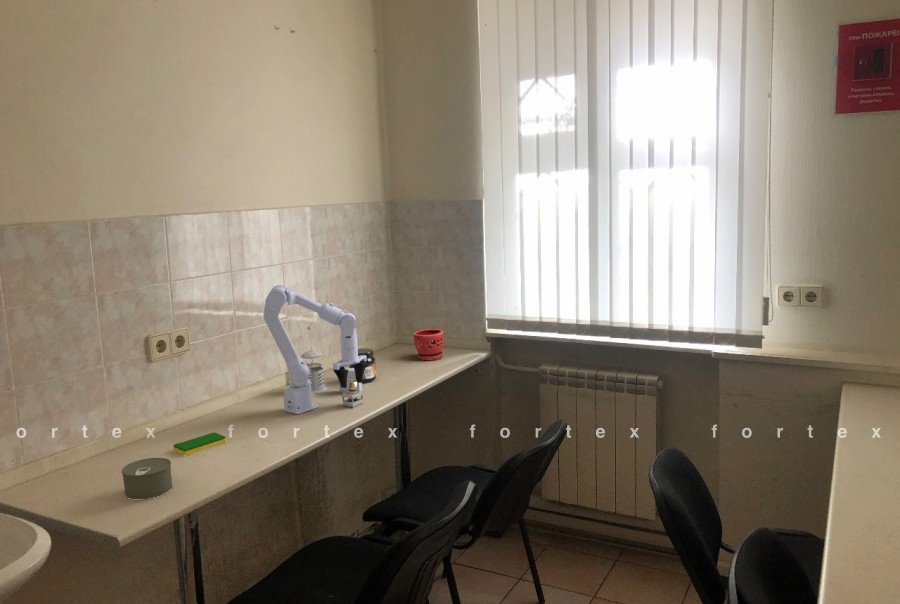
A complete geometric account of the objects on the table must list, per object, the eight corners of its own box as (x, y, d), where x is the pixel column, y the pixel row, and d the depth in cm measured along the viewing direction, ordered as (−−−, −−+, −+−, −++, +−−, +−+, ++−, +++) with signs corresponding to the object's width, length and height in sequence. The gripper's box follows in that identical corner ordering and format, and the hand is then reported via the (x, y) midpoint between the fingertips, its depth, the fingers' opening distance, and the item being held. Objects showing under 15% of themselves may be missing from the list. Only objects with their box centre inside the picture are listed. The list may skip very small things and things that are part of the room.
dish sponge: (173, 452, 222) (172, 444, 222) (214, 439, 232) (214, 431, 232) (185, 457, 217) (184, 449, 217) (226, 443, 227) (226, 436, 227)
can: (179, 480, 199) (177, 456, 198) (164, 499, 188) (161, 474, 186) (135, 482, 199) (132, 458, 198) (116, 502, 187) (113, 476, 186)
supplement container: (372, 384, 286) (370, 354, 284) (346, 383, 288) (344, 354, 286) (379, 376, 296) (377, 347, 294) (354, 376, 298) (352, 347, 296)
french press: (330, 386, 286) (325, 323, 282) (322, 394, 274) (317, 329, 270) (305, 386, 287) (300, 323, 283) (296, 395, 275) (291, 329, 271)
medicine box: (362, 389, 279) (361, 367, 277) (359, 393, 274) (358, 370, 273) (342, 390, 279) (340, 368, 278) (339, 393, 275) (337, 371, 274)
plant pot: (432, 353, 332) (430, 327, 330) (450, 357, 322) (449, 331, 320) (409, 358, 324) (407, 332, 322) (427, 363, 314) (425, 336, 312)
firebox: (353, 407, 257) (352, 395, 256) (343, 405, 260) (342, 393, 259) (363, 403, 261) (362, 391, 260) (353, 401, 264) (352, 389, 263)
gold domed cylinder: (352, 405, 258) (352, 383, 256) (346, 403, 260) (346, 381, 258) (359, 402, 260) (358, 381, 258) (353, 400, 262) (352, 379, 260)
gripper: (342, 353, 249) (344, 391, 251) (371, 344, 260) (373, 381, 262) (327, 350, 253) (330, 388, 255) (357, 342, 264) (359, 378, 267)
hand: (351, 384), depth 259 cm, fingers open, 7 cm apart
